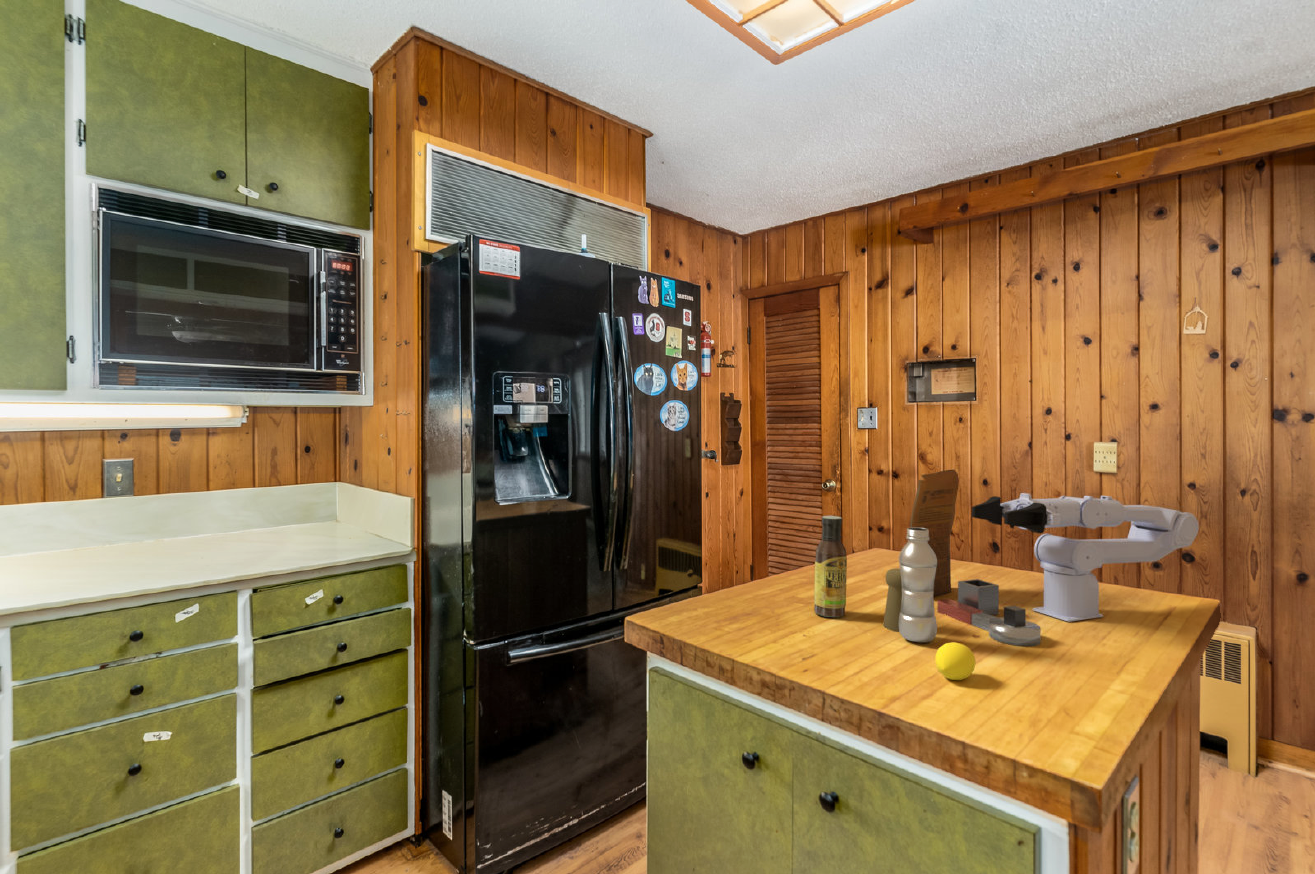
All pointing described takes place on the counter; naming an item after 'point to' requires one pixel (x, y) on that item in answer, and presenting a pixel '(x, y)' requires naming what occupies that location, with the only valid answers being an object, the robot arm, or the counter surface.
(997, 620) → the ratchet
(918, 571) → the plastic bottle
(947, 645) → the lemon
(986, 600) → the square hollow tube
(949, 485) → the pancake mix bag
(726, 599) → the counter surface
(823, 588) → the sauce bottle
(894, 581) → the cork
